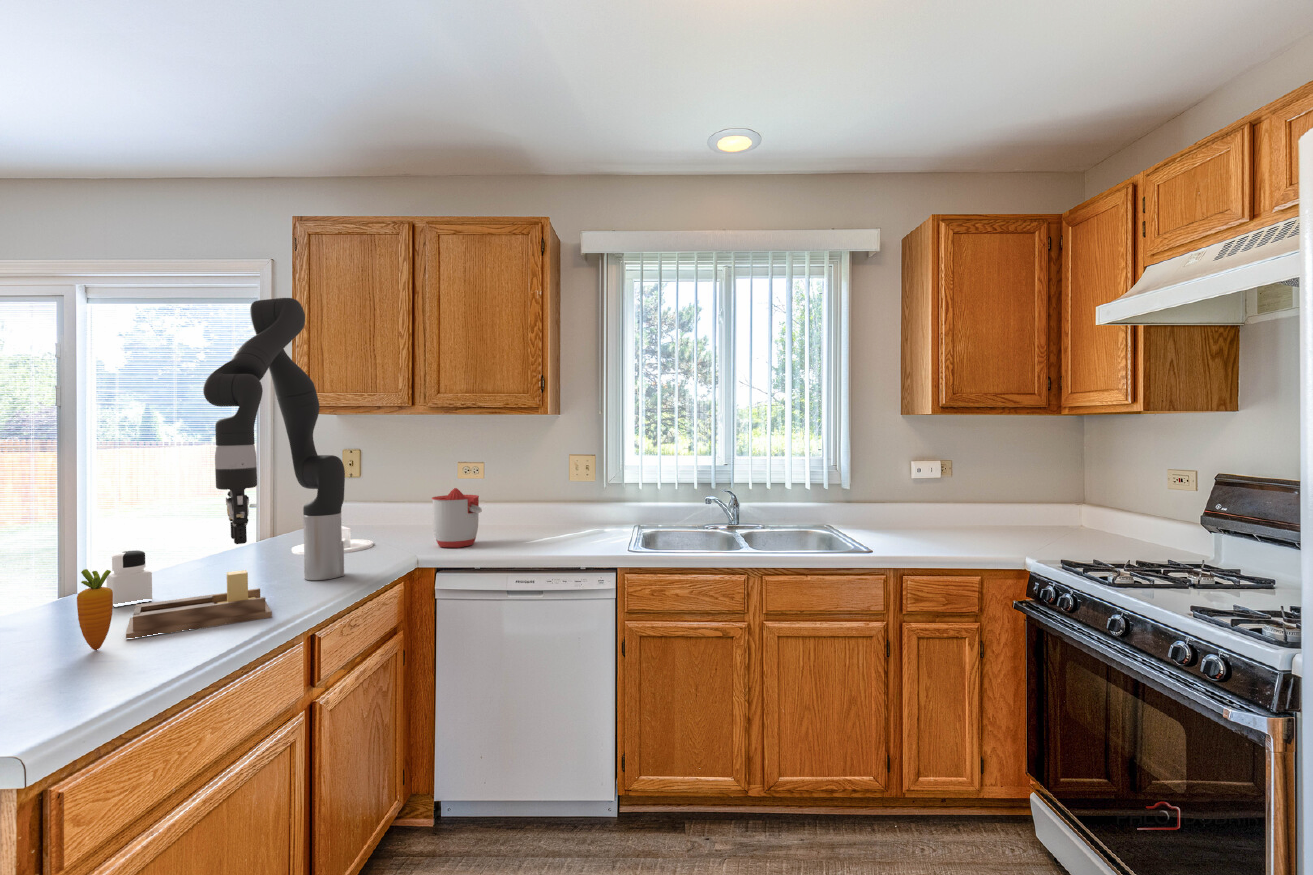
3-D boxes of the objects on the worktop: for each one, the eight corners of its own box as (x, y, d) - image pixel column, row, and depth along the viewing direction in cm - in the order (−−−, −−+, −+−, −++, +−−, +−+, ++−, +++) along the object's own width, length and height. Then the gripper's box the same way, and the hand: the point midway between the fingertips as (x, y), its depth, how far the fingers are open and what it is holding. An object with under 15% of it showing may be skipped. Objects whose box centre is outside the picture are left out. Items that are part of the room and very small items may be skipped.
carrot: (121, 645, 120) (119, 565, 119) (98, 654, 115) (97, 570, 114) (93, 646, 119) (92, 565, 119) (70, 655, 114) (68, 571, 114)
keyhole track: (264, 603, 148) (264, 586, 148) (271, 617, 137) (271, 598, 137) (130, 623, 134) (129, 604, 134) (126, 640, 123) (125, 619, 123)
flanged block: (255, 603, 144) (254, 567, 144) (258, 609, 138) (257, 572, 138) (217, 608, 140) (216, 572, 140) (219, 615, 134) (218, 577, 134)
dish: (275, 552, 215) (274, 518, 215) (343, 541, 237) (342, 510, 237) (322, 558, 204) (321, 522, 203) (388, 545, 226) (387, 513, 225)
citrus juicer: (466, 550, 212) (465, 490, 212) (422, 548, 218) (421, 489, 217) (492, 542, 227) (492, 486, 227) (451, 540, 232) (450, 485, 232)
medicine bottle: (144, 597, 156) (143, 547, 156) (152, 601, 151) (151, 550, 151) (106, 603, 150) (105, 552, 150) (113, 608, 146) (112, 555, 146)
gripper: (260, 466, 135) (262, 543, 136) (253, 463, 147) (255, 534, 147) (217, 468, 131) (219, 548, 131) (213, 465, 142) (215, 538, 143)
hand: (238, 540), depth 139 cm, fingers open, 8 cm apart
